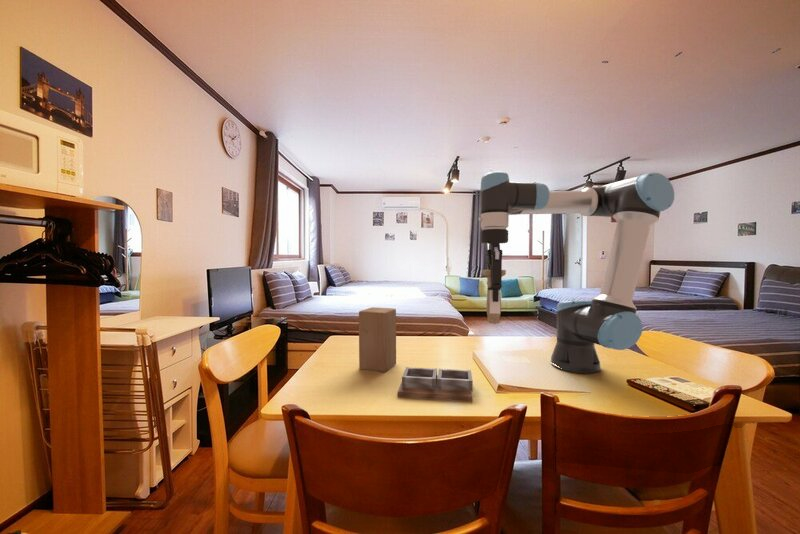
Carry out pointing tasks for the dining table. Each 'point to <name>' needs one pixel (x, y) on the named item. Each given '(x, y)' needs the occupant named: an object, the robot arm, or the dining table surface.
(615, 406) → the dining table surface
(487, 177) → the robot arm
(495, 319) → the handle
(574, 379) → the dining table surface
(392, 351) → the wooden block
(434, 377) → the grey double square tray
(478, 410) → the dining table surface
